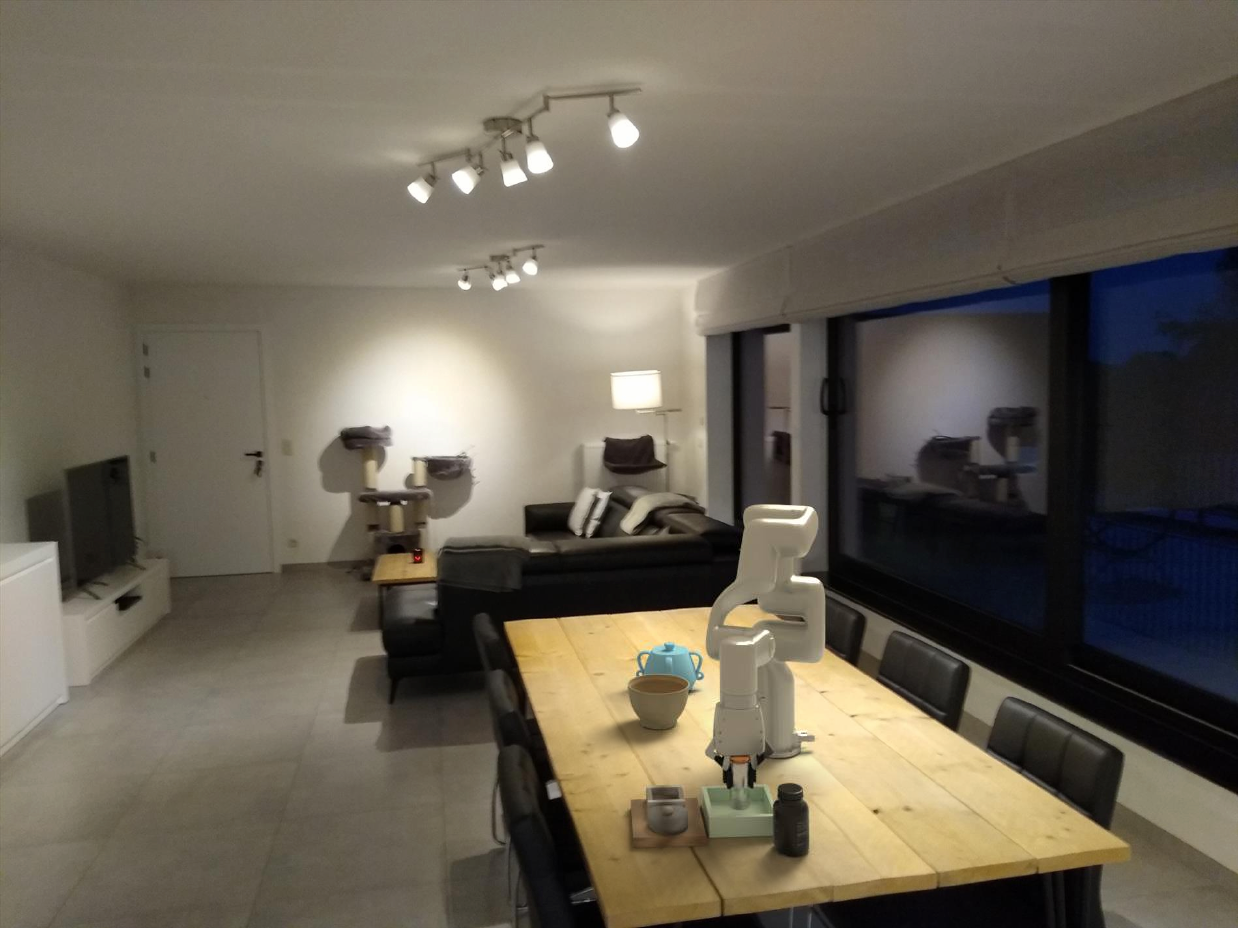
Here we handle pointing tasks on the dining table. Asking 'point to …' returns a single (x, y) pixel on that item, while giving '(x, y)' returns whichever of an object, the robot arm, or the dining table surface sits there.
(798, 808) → the supplement bottle
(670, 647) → the decorative pot
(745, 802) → the jar with copper lid
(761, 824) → the tray
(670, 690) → the planter bowl
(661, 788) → the wooden stand
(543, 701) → the dining table surface
